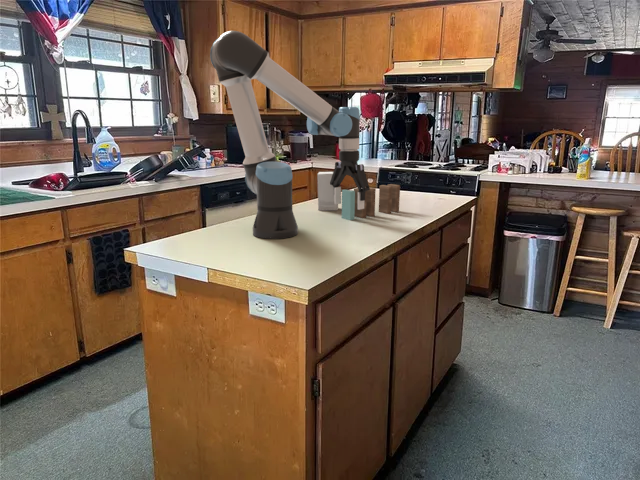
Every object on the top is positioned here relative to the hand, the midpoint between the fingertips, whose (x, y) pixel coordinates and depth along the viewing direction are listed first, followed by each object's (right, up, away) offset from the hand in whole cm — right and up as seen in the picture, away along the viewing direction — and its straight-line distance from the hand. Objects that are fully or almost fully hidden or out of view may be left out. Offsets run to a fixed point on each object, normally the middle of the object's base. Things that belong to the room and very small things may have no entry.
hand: (348, 206), depth 182 cm
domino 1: (+4, -4, +5) cm, 7 cm away
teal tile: (0, -5, +1) cm, 5 cm away
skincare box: (-8, 0, +19) cm, 21 cm away
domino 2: (+8, -3, +7) cm, 11 cm away
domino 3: (+15, -2, +13) cm, 20 cm away
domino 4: (+19, -1, +15) cm, 25 cm away
